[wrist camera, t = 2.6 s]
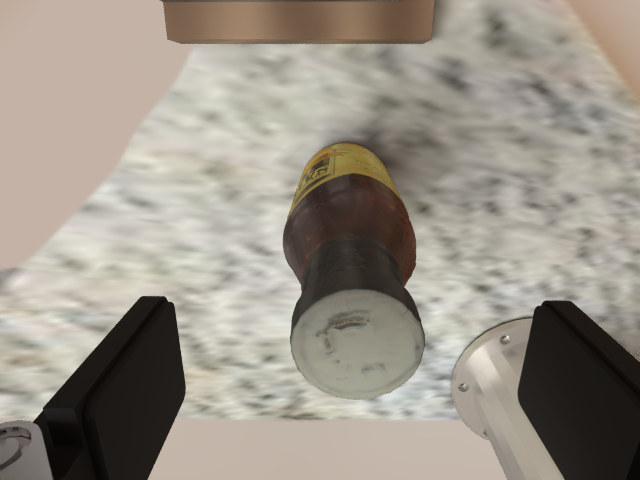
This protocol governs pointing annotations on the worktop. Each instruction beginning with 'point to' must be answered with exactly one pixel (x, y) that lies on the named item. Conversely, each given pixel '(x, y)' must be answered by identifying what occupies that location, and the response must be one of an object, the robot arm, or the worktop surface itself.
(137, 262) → the worktop surface
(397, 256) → the sauce bottle
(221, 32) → the dock
